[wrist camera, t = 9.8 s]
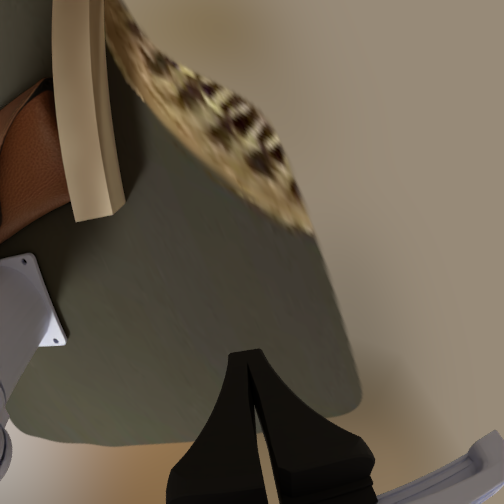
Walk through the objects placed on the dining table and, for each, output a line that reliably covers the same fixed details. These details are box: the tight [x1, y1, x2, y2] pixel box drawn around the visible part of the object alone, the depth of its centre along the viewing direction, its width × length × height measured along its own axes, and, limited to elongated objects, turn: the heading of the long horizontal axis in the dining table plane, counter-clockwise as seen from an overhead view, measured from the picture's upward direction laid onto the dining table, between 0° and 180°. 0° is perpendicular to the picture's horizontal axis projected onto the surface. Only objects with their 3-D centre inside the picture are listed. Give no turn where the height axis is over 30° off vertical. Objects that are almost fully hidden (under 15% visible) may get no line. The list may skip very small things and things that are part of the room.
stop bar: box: [52, 0, 126, 222], centre depth 14 cm, size 2×18×3 cm, turn 6°
